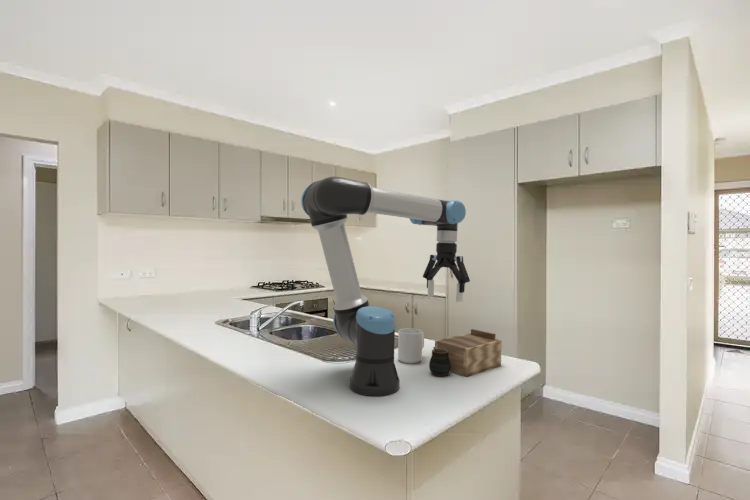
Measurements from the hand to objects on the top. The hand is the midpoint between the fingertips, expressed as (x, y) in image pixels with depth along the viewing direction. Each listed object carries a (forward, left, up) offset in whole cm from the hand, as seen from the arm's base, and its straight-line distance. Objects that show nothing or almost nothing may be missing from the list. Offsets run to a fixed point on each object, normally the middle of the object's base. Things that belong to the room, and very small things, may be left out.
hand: (444, 299), depth 148 cm
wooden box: (+2, -10, -23) cm, 25 cm away
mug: (-9, +7, -23) cm, 26 cm away
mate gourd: (-13, -10, -23) cm, 28 cm away
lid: (+2, -10, -15) cm, 18 cm away
